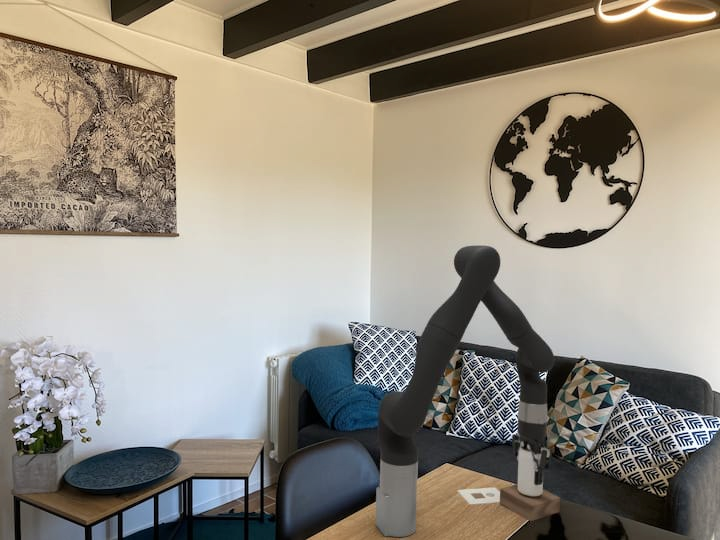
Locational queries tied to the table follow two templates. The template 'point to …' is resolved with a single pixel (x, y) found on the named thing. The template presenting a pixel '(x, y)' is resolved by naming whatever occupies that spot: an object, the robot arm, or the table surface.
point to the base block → (529, 503)
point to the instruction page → (480, 495)
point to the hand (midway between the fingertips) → (529, 479)
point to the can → (528, 474)
